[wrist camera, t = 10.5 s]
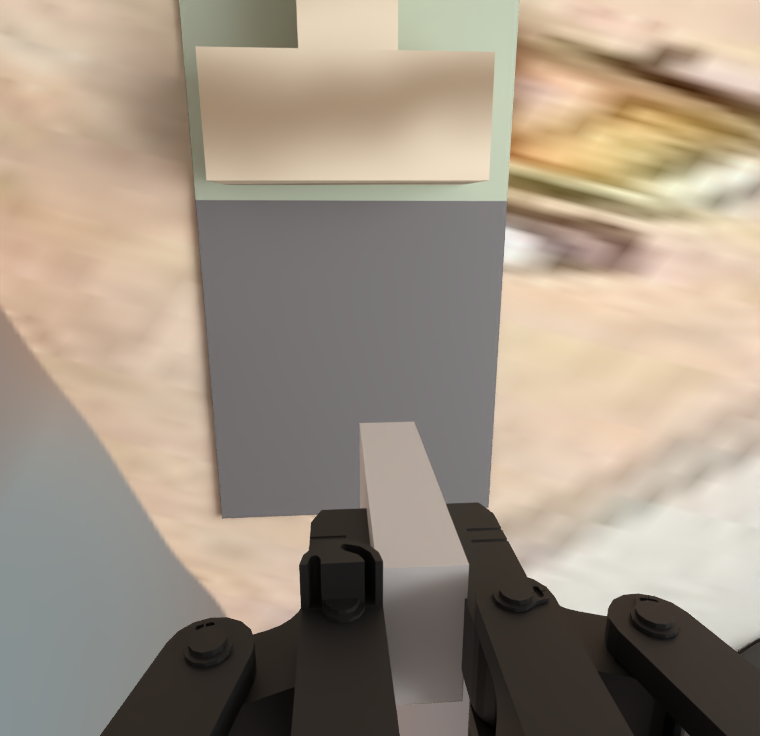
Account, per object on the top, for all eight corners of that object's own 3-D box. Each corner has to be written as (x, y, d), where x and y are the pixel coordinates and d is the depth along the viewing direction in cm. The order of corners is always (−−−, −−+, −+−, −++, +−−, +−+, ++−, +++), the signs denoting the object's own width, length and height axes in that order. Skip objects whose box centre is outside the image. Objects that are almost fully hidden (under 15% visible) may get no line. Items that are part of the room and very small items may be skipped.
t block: (463, 184, 29) (489, 180, 25) (227, 185, 28) (206, 180, 24) (473, -116, 26) (506, -189, 21) (204, -127, 25) (174, -207, 20)
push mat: (486, 504, 35) (500, 530, 32) (223, 514, 34) (213, 543, 31) (528, -193, 25) (553, -244, 23) (162, -216, 24) (140, -273, 21)
